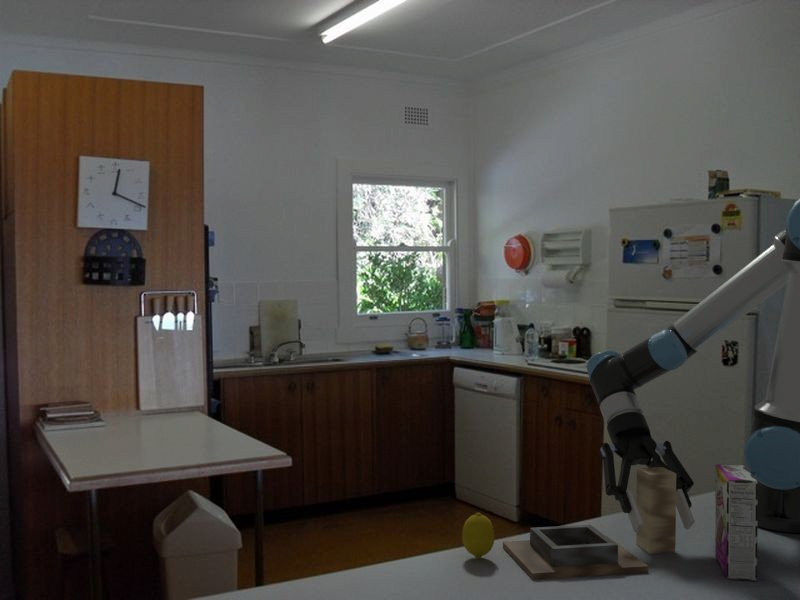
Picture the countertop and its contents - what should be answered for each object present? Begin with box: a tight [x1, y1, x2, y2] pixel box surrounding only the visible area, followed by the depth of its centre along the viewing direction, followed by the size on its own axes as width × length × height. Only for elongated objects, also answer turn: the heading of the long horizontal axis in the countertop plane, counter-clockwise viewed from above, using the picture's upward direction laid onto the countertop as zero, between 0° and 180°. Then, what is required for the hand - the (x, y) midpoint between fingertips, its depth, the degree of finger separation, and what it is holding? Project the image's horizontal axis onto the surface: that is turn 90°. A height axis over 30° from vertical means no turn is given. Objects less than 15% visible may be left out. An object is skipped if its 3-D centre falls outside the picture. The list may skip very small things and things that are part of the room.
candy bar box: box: [714, 463, 759, 582], centre depth 136 cm, size 11×5×16 cm, turn 168°
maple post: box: [635, 467, 677, 555], centre depth 146 cm, size 5×5×14 cm
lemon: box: [461, 512, 495, 560], centre depth 141 cm, size 6×6×8 cm
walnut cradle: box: [502, 524, 649, 581], centre depth 141 cm, size 20×16×4 cm
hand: (664, 526), depth 143 cm, fingers open, 9 cm apart
